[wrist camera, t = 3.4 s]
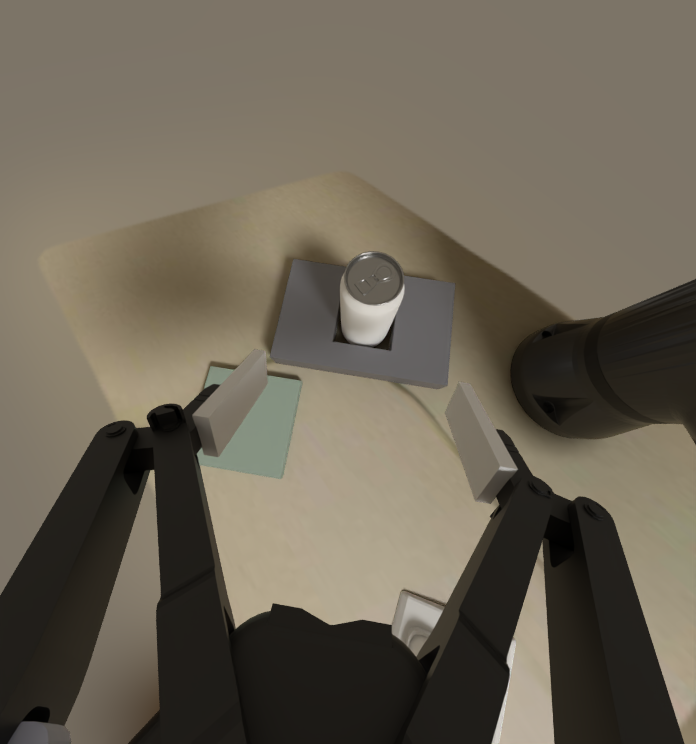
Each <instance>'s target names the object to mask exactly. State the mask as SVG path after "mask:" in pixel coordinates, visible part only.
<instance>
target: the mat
mask: <svg viewBox="0 0 696 744" xmlns="http://www.w3.org/2000/svg"><path fill="white" fill-rule="evenodd" d="M233 371H234V370H232V369H226V368H220V367H213V366H210V370H209V373H208V377H207V380H206V384H205V387H204V389H205V388H206V387H208V386H210V385H212V384H219V385H221V384H222V383H223V382H224V381H225V380H226V379H227V378H228V377H229V376H230V374H231V373H232V372H233ZM267 379H268V384H267V386H266V387H265V389H264V390H263V392H262V393H261V395H260V396H259V398H258V399H257V401H256V402H255V404H254V405H253V407H252V408H251V410H250V411H249V413H248V414H247V416H246V417H245V419H244V420H243V422H242V423H241V425H240V426H239V428H238V429H237V431H236V432H235V434H234V435H233V437H232V438H231V440H230V441H229V443H228V444H227V446H226V447H225V449H224V450H223V452H222V453H221V455H220V456H219V457H213V456H207V455H204V453H203V450H202V448H201V449H200V450H199V452H198V453H197V456H198V460H199V465H203V466H208V467H214V468H220V469H226V470H231V471H237V472H243V473H249V474H255V475H260V476H266V477H272V478H278V479H281V478H283V474H284V469H285V464H286V459H287V454H288V450H289V445H290V440H291V435H292V430H293V425H294V421H295V416H296V411H297V406H298V401H299V396H300V392H301V387H302V381H299V380H293V379H287V378H281V377H275V376H269V375H267Z"/></svg>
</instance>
